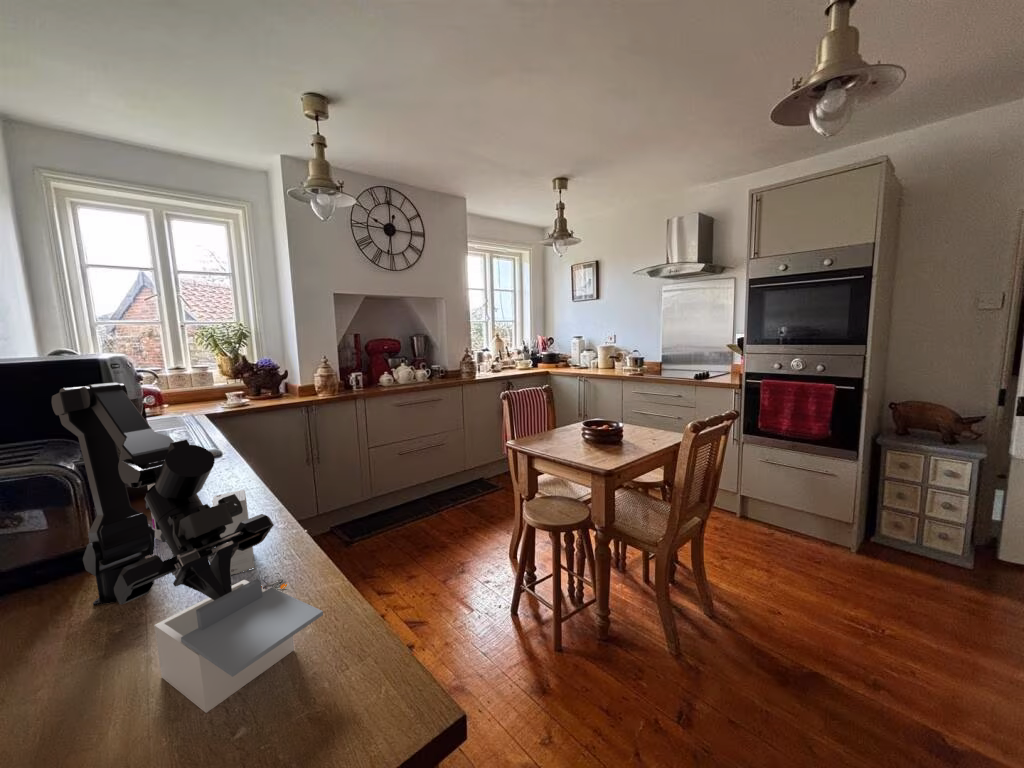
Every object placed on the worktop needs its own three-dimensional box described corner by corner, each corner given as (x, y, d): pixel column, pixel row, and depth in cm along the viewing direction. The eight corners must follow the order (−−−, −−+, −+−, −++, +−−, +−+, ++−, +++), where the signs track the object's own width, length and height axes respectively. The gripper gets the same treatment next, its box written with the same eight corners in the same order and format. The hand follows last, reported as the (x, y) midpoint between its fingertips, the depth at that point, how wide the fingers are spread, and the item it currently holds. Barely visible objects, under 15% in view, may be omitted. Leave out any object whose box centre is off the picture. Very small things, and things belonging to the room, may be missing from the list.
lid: (181, 641, 54) (178, 619, 54) (272, 591, 65) (270, 571, 64) (232, 676, 49) (229, 651, 48) (323, 614, 59) (321, 593, 59)
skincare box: (255, 569, 86) (247, 500, 84) (219, 579, 83) (210, 507, 81) (253, 552, 93) (246, 487, 91) (220, 560, 90) (212, 494, 88)
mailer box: (161, 677, 59) (154, 624, 58) (249, 624, 70) (244, 579, 69) (206, 713, 53) (198, 655, 52) (294, 649, 64) (289, 601, 63)
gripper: (110, 508, 52) (163, 619, 48) (261, 465, 68) (310, 545, 64) (94, 553, 57) (141, 657, 53) (239, 503, 73) (283, 579, 69)
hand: (228, 603), depth 60 cm, fingers closed
